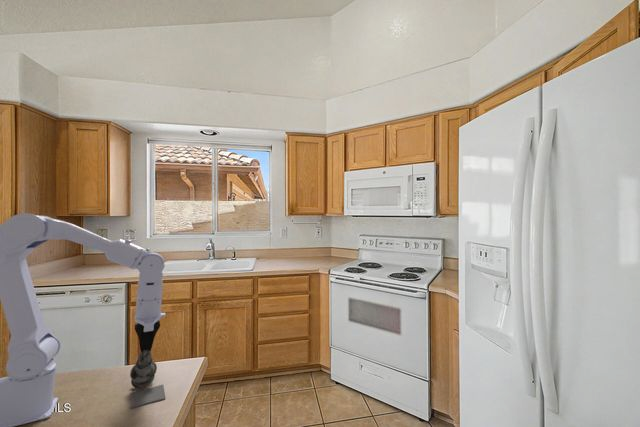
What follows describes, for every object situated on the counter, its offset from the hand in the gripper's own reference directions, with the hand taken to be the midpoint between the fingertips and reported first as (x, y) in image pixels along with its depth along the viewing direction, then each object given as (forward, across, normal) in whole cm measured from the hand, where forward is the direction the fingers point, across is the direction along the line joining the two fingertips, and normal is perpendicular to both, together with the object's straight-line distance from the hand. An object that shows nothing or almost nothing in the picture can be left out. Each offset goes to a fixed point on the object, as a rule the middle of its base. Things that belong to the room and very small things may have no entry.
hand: (145, 351), depth 71 cm
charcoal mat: (+9, -4, -1) cm, 10 cm away
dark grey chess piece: (+8, +3, 0) cm, 9 cm away
